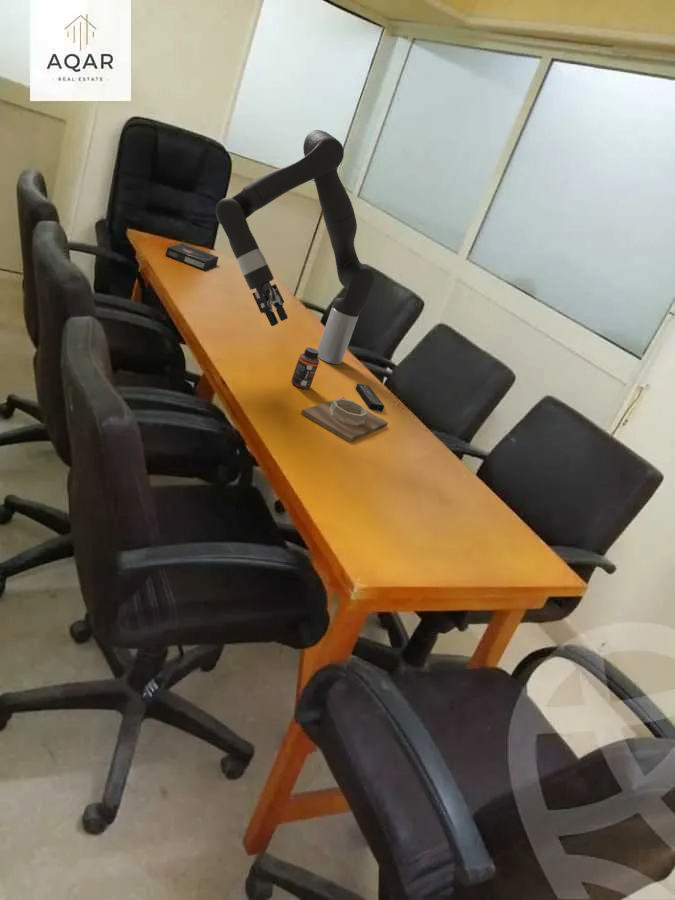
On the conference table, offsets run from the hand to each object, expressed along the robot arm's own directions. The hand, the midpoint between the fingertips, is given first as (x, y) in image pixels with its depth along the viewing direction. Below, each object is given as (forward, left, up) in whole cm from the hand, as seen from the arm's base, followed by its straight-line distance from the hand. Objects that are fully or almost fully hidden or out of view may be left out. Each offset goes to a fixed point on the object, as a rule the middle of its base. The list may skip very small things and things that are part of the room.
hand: (280, 322), depth 196 cm
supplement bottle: (-3, +11, -15) cm, 19 cm away
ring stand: (+3, +31, -15) cm, 35 cm away
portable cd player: (-61, -87, -16) cm, 108 cm away
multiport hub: (-20, +26, -16) cm, 37 cm away
